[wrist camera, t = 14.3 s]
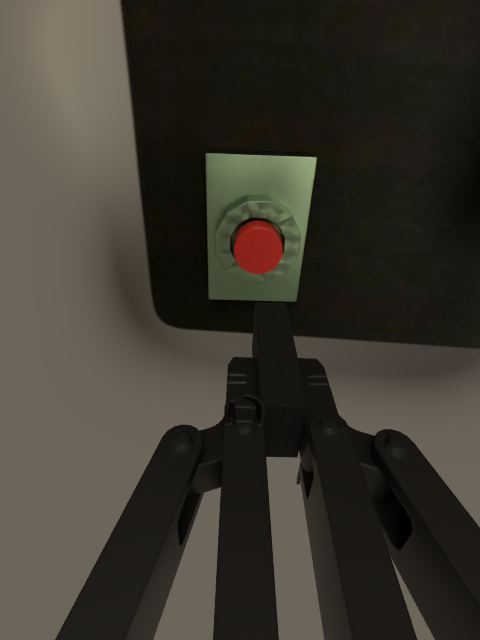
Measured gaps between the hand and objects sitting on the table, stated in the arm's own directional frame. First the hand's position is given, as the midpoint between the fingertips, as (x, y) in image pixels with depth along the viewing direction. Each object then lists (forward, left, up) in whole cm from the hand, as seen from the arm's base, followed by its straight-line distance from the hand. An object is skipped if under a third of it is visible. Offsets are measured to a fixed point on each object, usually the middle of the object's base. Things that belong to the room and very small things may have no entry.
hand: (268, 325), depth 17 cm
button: (0, 0, -11) cm, 11 cm away
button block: (0, 0, -15) cm, 15 cm away
